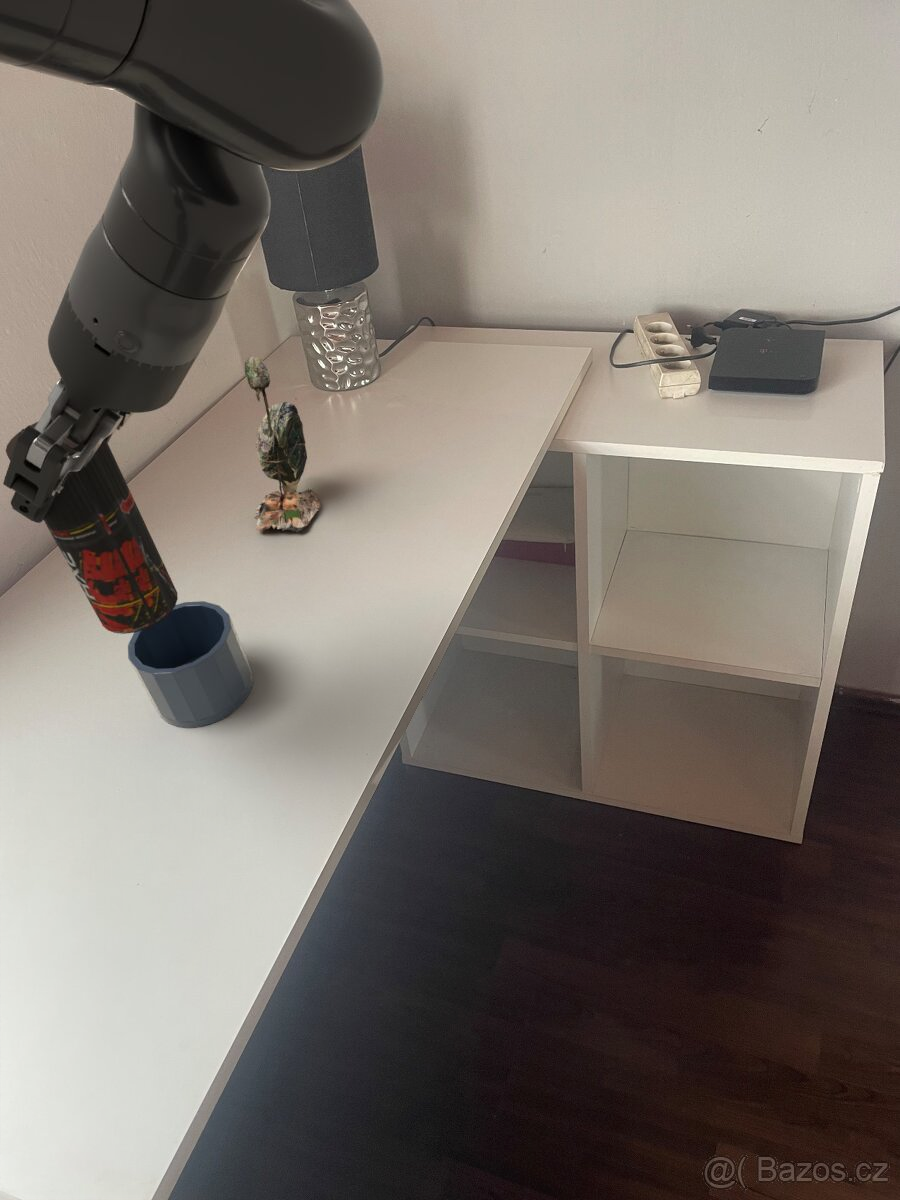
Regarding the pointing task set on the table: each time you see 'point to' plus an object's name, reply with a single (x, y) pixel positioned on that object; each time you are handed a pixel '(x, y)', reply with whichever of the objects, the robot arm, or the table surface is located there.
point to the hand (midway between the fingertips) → (54, 483)
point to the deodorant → (109, 545)
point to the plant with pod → (281, 459)
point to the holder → (192, 665)
